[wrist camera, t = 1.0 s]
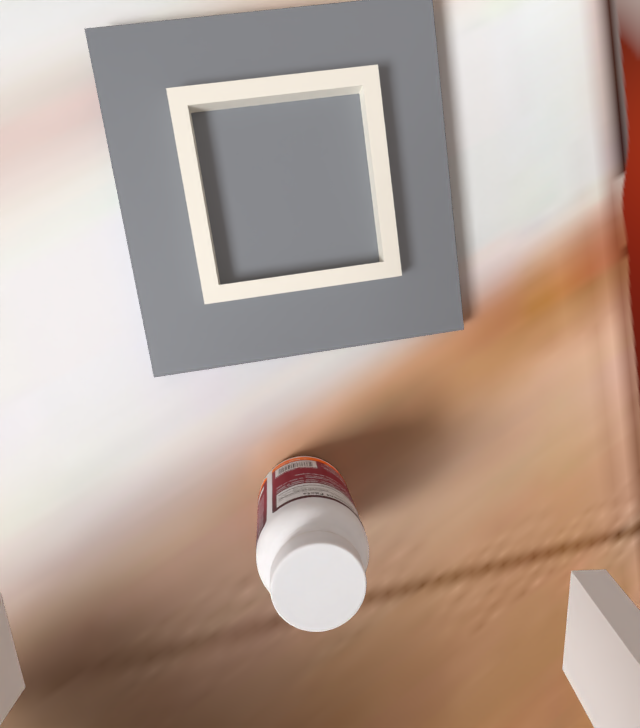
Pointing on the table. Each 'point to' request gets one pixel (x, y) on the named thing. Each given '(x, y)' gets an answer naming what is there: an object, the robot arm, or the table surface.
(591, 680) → the robot arm
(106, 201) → the table surface
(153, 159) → the locating plate
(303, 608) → the pill bottle
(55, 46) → the table surface
